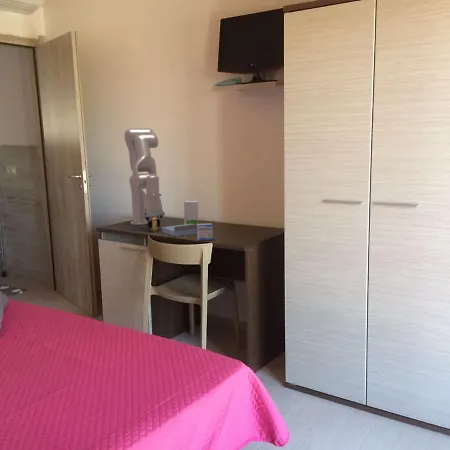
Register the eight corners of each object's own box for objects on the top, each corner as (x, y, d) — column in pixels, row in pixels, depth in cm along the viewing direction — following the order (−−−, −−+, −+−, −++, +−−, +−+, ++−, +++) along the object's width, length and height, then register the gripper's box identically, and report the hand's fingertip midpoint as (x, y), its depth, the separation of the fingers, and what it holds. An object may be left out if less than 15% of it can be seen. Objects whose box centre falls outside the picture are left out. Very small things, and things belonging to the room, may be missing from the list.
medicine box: (198, 241, 278) (198, 225, 276) (197, 239, 282) (196, 223, 281) (213, 240, 280) (212, 224, 278) (211, 238, 284) (210, 222, 282)
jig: (161, 232, 303) (161, 223, 302) (191, 228, 314) (191, 219, 313) (174, 236, 290) (173, 227, 289) (205, 232, 300) (205, 223, 299)
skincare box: (185, 227, 318) (184, 202, 316) (184, 225, 325) (183, 200, 322) (198, 226, 320) (198, 201, 317) (197, 224, 326) (196, 200, 324)
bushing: (148, 230, 308) (147, 217, 307) (156, 229, 311) (155, 216, 309) (152, 232, 304) (151, 218, 302) (160, 231, 307) (159, 217, 305)
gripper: (163, 194, 311) (164, 224, 314) (136, 197, 302) (138, 227, 306) (168, 196, 305) (169, 226, 308) (142, 198, 296) (143, 229, 299)
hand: (154, 226), depth 307 cm, fingers closed on bushing, 4 cm apart
